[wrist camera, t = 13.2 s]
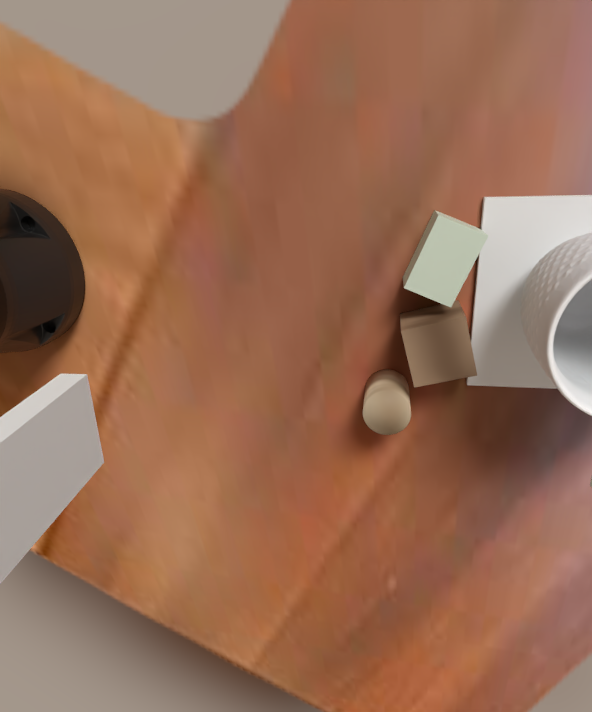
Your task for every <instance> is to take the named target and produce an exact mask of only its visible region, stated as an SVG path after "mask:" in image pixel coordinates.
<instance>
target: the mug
mask: <svg viewBox="0 0 592 712" xmlns="http://www.w3.org/2000/svg"><path fill="white" fill-rule="evenodd" d="M520 306H521V312H520V314H521V318H522V319H521V320H522V322H521V323H522V326H523V329H524V334H525V336H526V338H527V342H528V344H529V345H530V348H531V351H532V352H533V353H534V356H535V358H536V360H537V361H538V362H539V363H540V366H541V368H542V369H543V370H544V371H545V373H546V375H547V376H548V377H549V378H550V379H551V380H552V382H553V383H554V385H555V386H556V387H557V389H558V390H559V391H560V393H561V394H562V395H563V396H564V397H565V398H566V399H567V400H568V401H569V402H570V403H571V404H573V405H574V406H575V407H577V408H578V409H580V410H581V411H583V412H585V413H586V414H588V415H591V416H592V233H587V234H585V235H581V236H576V237H575V238H573V239H569V240H567V241H565V242H563V243H561V244H560V245H558V246H556V247H555V248H554V249H552V250H550V251H549V252H548V253H547V254H545V255H544V257H543V258H541V259H540V260H539V262H538V263H537V264H536V265H535V267H534V268H533V269H532V271H531V273H530V274H529V277H528V278H527V279H526V283H525V285H524V288H523V292H522V295H521V304H520Z"/></svg>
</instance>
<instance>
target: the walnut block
mask: <svg viewBox="0 0 592 712" xmlns="http://www.w3.org/2000/svg"><path fill="white" fill-rule="evenodd" d="M400 325H401V334H402V338H403V342H404V346H405V351H406V355H407V359H408V363H409V367H410V372H411V376H412V380H413V384H414V388H415V387H420V386H425V385H430V384H436V383H441V382H446V381H451V380H456V379H462V378H467V377H472V376H477V371H476V366H475V361H474V356H473V351H472V345H471V340H470V335H469V330H468V325H467V320H466V316H465V314H464V312H463V309H462V307H461V305H460V303H459V301H458V300H457V301H454V303H453V305H452V307H448V306H446V305H443V304H440V305H435V306H431V307H427V308H422V309H418V310H413V311H409V312H405V313H400Z"/></svg>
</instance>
